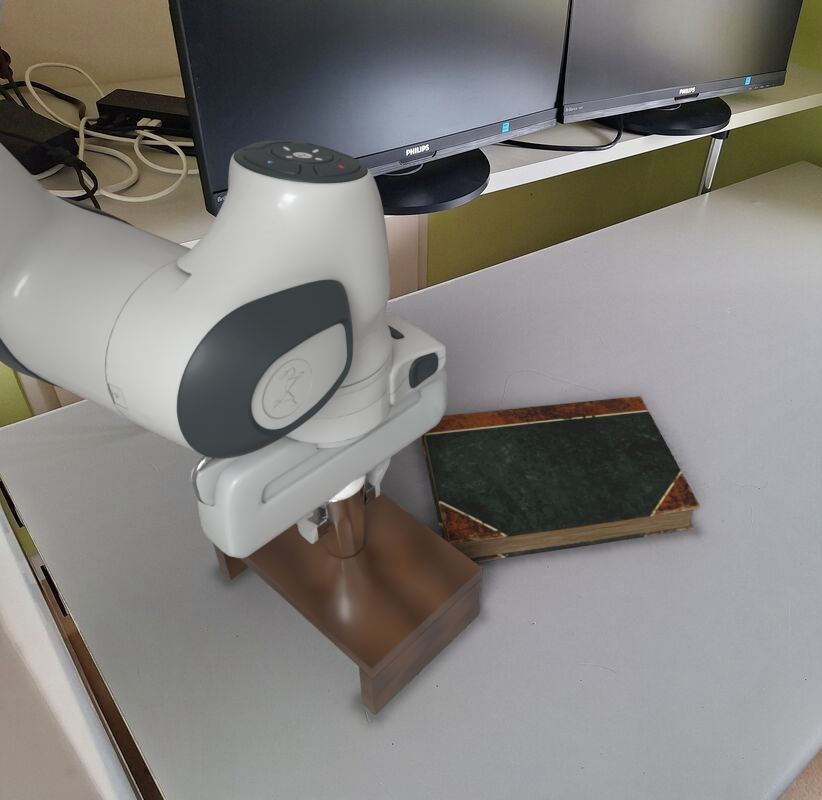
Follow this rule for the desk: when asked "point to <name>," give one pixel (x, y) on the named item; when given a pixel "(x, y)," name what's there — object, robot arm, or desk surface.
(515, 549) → the book
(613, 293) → the desk surface
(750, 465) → the desk surface
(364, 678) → the riser shelf
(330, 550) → the milkshake
